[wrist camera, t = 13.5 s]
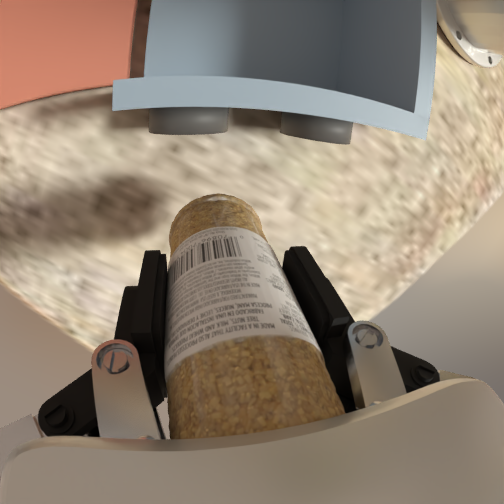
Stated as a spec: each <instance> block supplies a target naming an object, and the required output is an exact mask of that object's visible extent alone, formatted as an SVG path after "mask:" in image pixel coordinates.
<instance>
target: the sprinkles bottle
mask: <svg viewBox="0 0 504 504" xmlns="http://www.w3.org/2000/svg"><path fill="white" fill-rule="evenodd" d="M169 243H170V248H171V255H170V261H169V265H168V276H167V292H166V310H165V348H164V371H165V380H166V387H167V394H168V402H167V403H168V414H169V430H170V439H197V438H212V437H224V436H233V435H242V434H250V433H257V432H264V431H270V430H276V429H282V428H287V427H292V426H297V425H302V424H307V423H311V422H315V421H320V420H324V419H328V418H332V417H335V416H339V415H343V414H346V413H345V411H344V406H343V404H342V403H341V400H340V398H339V396H338V395H337V393H336V388H335V386H334V384H333V382H332V380H331V378H330V375H329V373H328V371H327V369H326V366H325V361H324V357H323V354H322V352H321V350H320V348H319V345H318V343H317V341H316V339H315V337H314V335H313V333H312V331H311V329H310V327H309V324H308V322H307V320H306V318H305V316H304V314H303V312H302V309H301V307H300V305H299V303H298V301H297V299H296V297H295V295H294V292H293V290H292V288H291V286H290V284H289V282H288V280H287V277H286V275H285V273H284V271H283V269H282V267H281V265H280V263H279V261H278V259H277V257H276V255H275V252H274V251H273V249H272V247H271V246H270V245H269V244H268V242H267V240H266V237H265V235H264V233H263V231H262V225H261V222H260V219H259V217H258V215H257V214H256V212H255V211H254V209H253V208H252V207H251V206H250V205H248V204H247V203H246V202H244V201H243V200H241V199H238V198H236V197H234V196H229V195H225V194H212V195H206V196H203V197H201V198H197V199H195V200H193V201H191V202H190V203H189V204H187V205H186V206H184V207H183V208H182V209H181V210H180V211H179V213H178V214H177V216H176V217H175V219H174V221H173V222H172V225H171V229H170V234H169Z"/></svg>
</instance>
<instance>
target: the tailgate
mask: <svg viewBox="0 0 504 504" xmlns="http://www.w3.org/2000/svg"><path fill="white" fill-rule="evenodd" d="M137 2H138V0H1V2H0V110H1V109H4V108H7V107H10V106H14V105H17V104H21V103H24V102H28V101H32V100H36V99H40V98H44V97H49V96H53V95H58V94H63V93H68V92H73V91H79V90H85V89H92V88H99V87H107V86H113V80H119V79H129V77H130V62H131V50H132V40H133V31H134V23H135V15H136V8H137Z"/></svg>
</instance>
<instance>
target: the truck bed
mask: <svg viewBox="0 0 504 504" xmlns="http://www.w3.org/2000/svg"><path fill="white" fill-rule="evenodd" d="M436 44H437V8H436V0H152V4H151V10H150V18H149V26H148V34H147V44H146V55H145V68H144V77H141V78H129V79H119V80H113V100H112V111H118V110H128V109H141V108H149V132H150V133H153V134H166V135H196V134H216V133H223V132H226V131H227V125H228V111H229V107H231V108H249V109H262V110H274V111H282V119H281V129H280V132H281V133H283V134H286V135H289V136H294V137H299V138H304V139H309V140H315V141H321V142H328V143H336V144H350V140H351V133H352V127H353V122H355V123H360V124H365V125H369V126H374V127H378V128H382V129H387V130H391V131H395V132H398V133H402V134H406V135H410V136H413V137H417V138H420V139H423V140H426V137H427V131H428V125H429V118H430V112H431V104H432V96H433V87H434V77H435V64H436Z"/></svg>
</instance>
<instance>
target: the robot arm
mask: <svg viewBox="0 0 504 504" xmlns="http://www.w3.org/2000/svg"><path fill="white" fill-rule="evenodd" d="M436 8H437V22H438V24H439V26H440V27H441V29H442V31H443V32H444V34H445V36H446V37H447V39H448V40H449V41H450V43H451V44H452V46H453V47H454V48H455V49H456V50H457V52H458V53H459V54H460V55H461V56H462V57H463V58H464V59H466V60H467V61H468V62H469V63H471V64H473V65H475V66H478V67H484V68H492V67H494V66H496V65H497V64H498V63H499V61H500V60H501V58H502V55H504V0H436ZM282 269H283V271H284V273H285V275H286V277H287V280H288V282H289V284H290V286H291V288H292V290H293V292H294V295H295V297H296V299H297V301H298V303H299V305H300V307H301V309H302V312H303V314H304V316H305V318H306V320H307V322H308V324H309V327H310V329H311V331H312V333H313V335H314V337H315V339H316V341H317V343H318V345H319V348H320V350H321V352H322V354H323V357H324V361H325V366H326V369H327V371H328V373H329V375H330V378H331V380H332V382H333V384H334V386H335V388H336V393H337V395H338V396H339V398H340V400H341V403H342V404H343V406H344V411H345V413H346V414H343V415H339V416H335V417H332V418H328V419H324V420H320V421H315V422H311V423H307V424H302V425H297V426H292V427H287V428H282V429H276V430H270V431H264V432H257V433H250V434H242V435H233V436H224V437H212V438H197V439H169V440H168V439H166V436H165V433H164V429H163V426H162V423H161V419H160V416H159V413H158V409H157V406H158V405H159V404H161V403H162V401H164V398H165V397H166V398H167V387H166V380H165V371H164V348H165V310H166V292H167V276H168V271H167V260H166V254H161V252H160V250H150V251H145V253H144V258H143V263H142V268H141V273H140V278H139V283H138V286H126V287H125V289H124V293H123V297H122V302H121V306H120V311H119V316H118V321H117V326H116V331H115V337H114V340H110V341H106V342H104V343H102V344H101V345H99V346H98V347H97V348H96V349H95V351H94V353H93V355H92V361H91V364H92V369H90V370H89V371H87V372H86V373H85V374H83V375H82V376H80V377H79V378H78V379H77V380H75V381H73V382H72V383H71V384H69V385H68V386H66V387H65V388H64V389H63V390H61V391H59V392H58V393H57V394H55V395H54V396H53V397H51V398H50V399H48V400H47V401H46V402H45V403H44V404H43V405H42V406H41V408H40V410H39V414H38V415H36V416H33V415H32V414H30V415H28V416H26V417H24V418H21V419H20V420H17V421H15V422H13V423H11V424H9V425H7V426H4V427H2V428H0V504H504V404H503V403H502V401H501V400H500V398H499V397H498V396H497V394H496V393H495V392H494V391H493V390H492V389H491V387H489V385H488V384H486V383H485V382H483V381H481V380H477V379H475V378H472V377H468V376H464V375H459V374H455V373H451V372H447V371H443V370H439V371H438V372H437V370H436V369H435V367H434V366H433V365H431V364H430V363H428V362H427V361H424V360H422V359H419V358H417V357H415V356H413V355H410V354H408V353H406V352H403V351H401V350H398V349H396V348H394V347H391V346H390V343H389V341H388V338H387V336H386V334H385V332H384V331H383V330H382V329H381V328H380V327H379V326H378V325H376V324H374V323H372V322H369V321H357V322H355V321H354V319H353V318H352V316H351V315H350V313H349V311H348V310H347V308H346V306H345V305H344V303H343V302H342V300H341V298H340V297H339V295H338V294H337V292H336V290H335V289H334V287H333V286H332V284H331V283H330V281H329V280H328V279H327V278H326V277H325V276H324V274H323V272H322V271H321V269H320V268H319V266H318V265H317V263H316V262H315V260H314V258H313V257H312V255H311V254H310V252H309V251H308V249H307V248H306V247H305V246H295V247H290V249H289V250H286V251H285V254H284V260H283V266H282Z"/></svg>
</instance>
